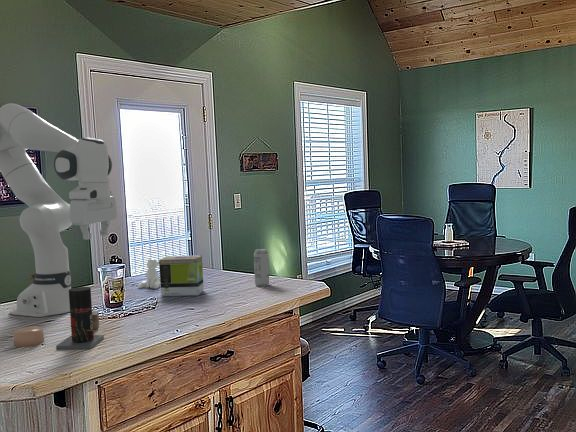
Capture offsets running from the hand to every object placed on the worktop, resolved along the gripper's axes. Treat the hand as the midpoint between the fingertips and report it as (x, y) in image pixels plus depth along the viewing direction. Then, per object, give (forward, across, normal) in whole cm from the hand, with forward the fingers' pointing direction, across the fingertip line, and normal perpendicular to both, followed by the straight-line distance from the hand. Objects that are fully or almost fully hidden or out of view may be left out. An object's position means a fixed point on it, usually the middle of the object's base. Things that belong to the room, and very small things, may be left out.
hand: (95, 237), depth 176 cm
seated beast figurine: (+30, -66, -15) cm, 75 cm away
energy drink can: (+29, -73, +32) cm, 85 cm away
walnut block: (+30, -3, -5) cm, 31 cm away
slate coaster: (+30, +12, +1) cm, 32 cm away
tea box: (+30, -54, +4) cm, 62 cm away
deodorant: (+29, +11, +2) cm, 31 cm away
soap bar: (+26, +13, -15) cm, 33 cm away
